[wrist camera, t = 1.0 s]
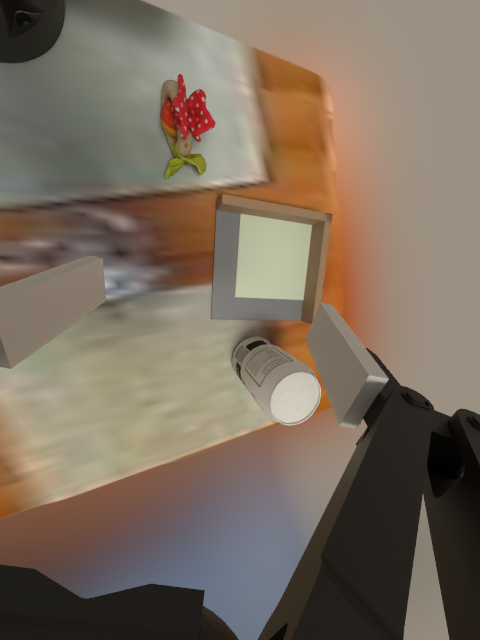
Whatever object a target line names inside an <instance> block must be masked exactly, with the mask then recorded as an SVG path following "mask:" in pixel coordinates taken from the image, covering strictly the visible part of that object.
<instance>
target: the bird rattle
mask: <svg viewBox="0 0 480 640" xmlns="http://www.w3.org/2000/svg"><path fill="white" fill-rule="evenodd" d="M205 103H206V95H205V93H204V91H203V90H201V89H198V90H196V91H195V92H193V93H192V94H191V95H190V97H189V98H188V100H187V99H186V89H185V85H184V80H183V76H182V75H181V74H179V75H178V83H177V82H176V81H174V80H167V81H165V82H164V84H163V86H162V91H161V115H160V116H161V123H162V126H163V129H164V131H165V134H166V137H167V140H168V143H169V146H170V148H171V150H172V153H173V155H174V156H175V157H176V158H174V159H171V160H170V161H169V166H168V168H167V170H166V174H165V178H166V179H167V178H169V176H172V175H173V174H175V173H176V172H177V170H178V169H179V168H181V166H182V165H183V164H184V163H186V164H191V163H192V164H194V165H196V166H197V168H198V173H199V174H200V175H201V174H203V171H206V163H205V159H204V158H203V156H202V155H201V154H190V150H191V145H192V135H193V137H194V138H195V139H196V141H197V142H200V141H201V139H200V136H199V135H200V134H202V133H204V132H206V131H208V130H210V129H212V128H214V126H215V121H214V120H213V118H212V116H211V115H210V113H209V112H208V110H207V109H206V104H205Z"/></svg>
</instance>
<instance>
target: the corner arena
mask: <svg viewBox="0 0 480 640" xmlns="http://www.w3.org/2000/svg"><path fill="white" fill-rule="evenodd" d="M331 221H332V214H330V213H324V212H319V211H313V210H308V209H302V208H297V207H291V206H286V205H280V204H275V203H269V202H264V201H258V200H253V199H247V198H242V197H236V196H231V195H226V194H222V195H221V197H220V198H219V199H218V201H217V202H216V222H215V243H214V264H213V285H212V306H211V319H221V320H301V321H304V322H307V323H310V324H312V322H313V319H314V317H315V314H316V312H317V309H318V307H319V304H320V302H321V298H322V291H323V283H324V275H325V268H326V260H327V252H328V244H329V237H330V229H331Z"/></svg>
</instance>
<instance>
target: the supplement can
mask: <svg viewBox="0 0 480 640" xmlns="http://www.w3.org/2000/svg"><path fill="white" fill-rule="evenodd" d="M232 364H233V369H234V371H235V372H236V374H237V375H238V377H239V378H240V380H241V381H242V382H243V384H244V385H245V387H246V388H247V389H248V391H249V392H250V394H251V395H252V396H253V398H254V399H255V401H256V402H257V403H258V405H259V406H260V408H261V409H262V410H263V412H264V413H265V415H266V416H267V417H269V418H270V419H272V420H273V421H276V422H280V423H281V424H284V425H296V424H300V423H301V422H303V421H305V420H307V419H308V418H309V417H310V416H311V415H312V414H313V413H314V412H315V410H316V408H317V406H318V405H319V401H320V397H321V389H320V385H319V383H318V381H317V378H316V376H315V374H314V372H313V370H311V369H310V368H309V367H308V366H307V365H305V364H304V363H302V362H301V361H299V360H298V359H296V358H295V357H293V356H291V355H290V354H288V353H287V352H285V351H284V350H282V349H281V348H279V347H278V346H276V345H275V344H273V343H271V342H270V341H268V340H267V339H265V338H262V337H250V338H248V339H245V340H243V341H242V342H241V343H240V344H239V345H238V346H237V348H236V349H235V351H234V353H233V358H232Z"/></svg>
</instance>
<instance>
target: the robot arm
mask: <svg viewBox="0 0 480 640" xmlns="http://www.w3.org/2000/svg"><path fill="white" fill-rule="evenodd" d="M63 20H64V0H0V62H21V61H26V60H30V59H33V58H35V57H38V56H40V55H41V54H43V53H44V52H46V51H47V50H48V49H49V48H50V47H51V46H52V45H53V44H54V42H55V41H56V39H57V37H58V36H59V33H60V31H61V28H62V24H63ZM105 301H106V297H105V283H104V270H103V258H100V257H95V256H91V255H88V256H86V257H83V258H80V259H77V260H74V261H72V262H69V263H66V264H63V265H60V266H57V267H55V268H52V269H49V270H46V271H43V272H41V273H38V274H35V275H32V276H29V277H27V278H24V279H21V280H18V281H15V282H12V283H10V284H7V285H4V286H1V287H0V367H4V368H10V369H11V368H13V367H14V366H15V365H17V364H18V363H20V362H21V361H22V360H24V359H25V358H27V357H28V356H29V355H31V354H32V353H34V352H35V351H36V350H38V349H39V348H41V347H42V346H43V345H45V344H46V343H48V342H49V341H50V340H52V339H53V338H55V337H56V336H57V335H59V334H60V333H62V332H63V331H64V330H66V329H67V328H69V327H70V326H71V325H73V324H74V323H76V322H77V321H78V320H80V319H81V318H83V317H84V316H85V315H87V314H88V313H90V312H91V311H92V310H94V309H95V308H97V307H98V306H99V305H101V304H102V303H104V302H105ZM306 342H307V345H308V347H309V350H310V352H311V355H312V358H313V360H314V363H315V365H316V368H317V370H318V373H319V375H320V378H321V381H322V383H323V386H324V388H325V391H326V393H327V396H328V398H329V401H330V404H331V406H332V408H333V411H334V414H335V416H336V419H337V421H338V424H339V426H344V427H350V428H357V427H358V426H359V424H360V423H361V421H362V420H363V419H364V420H365V422H366V424H367V426H368V427H367V429H366V430H365V432H364V433H363V435H362V436H361V437H360V439H359V440H358V442H357V443H356V445H357V447H356V449H355V451H354V454H353V456H352V457H351V459H350V461H349V463H348V465H347V467H346V469H345V472H344V473H343V475H342V477H341V479H340V482H339V484H338V485H337V487H336V490H335V492H334V493H333V496H332V498H331V499H330V501H329V504H328V505H327V507H326V509H325V512H324V513H323V515H322V517H321V520H320V522H319V524H318V526H317V528H316V530H315V532H314V534H313V536H312V538H311V540H310V542H309V544H308V546H307V548H306V550H305V552H304V554H303V556H302V558H301V560H300V562H299V564H298V566H297V568H296V570H295V572H294V574H293V576H292V578H291V580H290V582H289V584H288V586H287V588H286V590H285V592H284V594H283V596H282V598H281V600H280V601H279V603H278V605H277V607H276V608H275V610H274V612H273V613H272V615H271V617H270V619H269V620H268V622H267V624H266V625H265V627H264V629H263V631H262V633H261V634H260V636H259V638H258V640H403V636H404V625H405V618H406V610H407V602H408V596H409V589H410V582H411V575H412V567H413V560H414V553H415V546H416V539H417V531H418V524H419V516H420V510H421V503H422V495H423V494H424V501H425V506H426V511H427V517H428V523H429V528H430V534H431V539H432V545H433V550H434V556H435V561H436V567H437V572H438V578H439V584H440V589H441V595H442V600H443V606H444V611H445V617H446V622H447V628H448V633H449V639H450V640H480V415H479V414H477V413H475V412H472V411H469V410H466V409H459V410H457V411H456V412H455V414H454V415H453V416H452V417H450V416H447V415H445V414H442V413H440V412H437V411H435V410H434V408H433V405H432V404H431V403H430V402H429V400H427V399H426V398H425V397H424V396H423V395H421V394H420V393H418V392H416V391H414V390H412V389H410V388H408V387H404V386H401V385H400V384H399V383H398V381H397V380H396V379H395V378H394V377H393V375H392V374H391V373H390V371H389V370H388V369H386V367H385V365H384V364H383V363H382V362H381V360H380V359H379V358H378V357H377V355H376V354H374V353H373V352H372V351H370V350H369V349H368V348H365V347H364V346H363V345H362V343H361V342H360V340H359V339H358V338H357V337H356V335H355V334H354V333H353V331H352V330H351V329H350V327H349V326H348V325H347V324H346V323H345V321H344V320H343V318H342V317H341V316H340V314H339V313H338V312H337V311H336V309H335V308H334V307H333V305H330V304H325V303H321V302H320V304H319V307H318V309H317V312H316V314H315V317H314V319H313V322H312V324H311V327H310V330H309V332H308V335H307V337H306ZM203 599H204V590H196V589H189V588H180V587H172V586H165V585H156V584H148V585H144V586H140V587H135V588H131V589H127V590H123V591H119V592H115V593H111V594H106V595H102V596H98V597H94V598H89V599H84V598H81V597H79V596H77V595H76V594H74V593H72V592H71V591H69V590H67V589H66V588H64V587H63V586H61V585H59V584H58V583H56V582H55V581H53V580H51V579H50V578H48V577H47V576H45V575H43V574H42V573H40V572H39V571H37V570H35V569H29V568H22V567H14V566H5V565H0V640H238V638H237V636H236V635H235V634H234V633H233V631H232V630H231V629H230V628H229V627H228V626H227V624H226V623H225V622H224V621H223V620H222V619H221V618H219V617H218V616H217V615H216V614H215V613H214V612H212V611H211V610H209V609H207V608H206V607H204V606H203Z"/></svg>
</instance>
